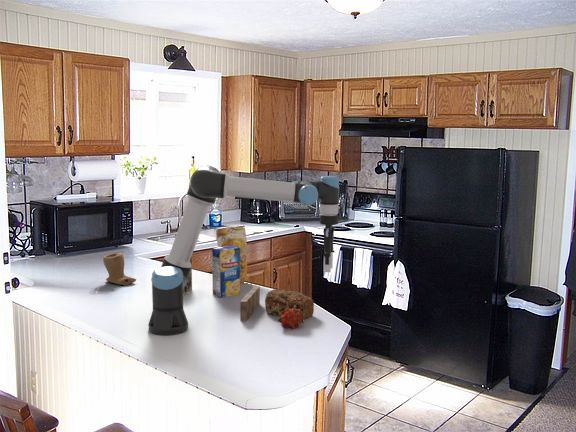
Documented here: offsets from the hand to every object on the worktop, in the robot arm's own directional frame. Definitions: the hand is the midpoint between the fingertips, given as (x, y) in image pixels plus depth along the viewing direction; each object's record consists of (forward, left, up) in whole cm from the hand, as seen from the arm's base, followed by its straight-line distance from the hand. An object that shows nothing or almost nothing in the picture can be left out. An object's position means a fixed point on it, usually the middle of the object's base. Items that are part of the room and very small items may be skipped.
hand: (328, 270), depth 254 cm
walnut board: (0, +33, -20) cm, 38 cm away
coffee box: (+24, +72, -20) cm, 78 cm away
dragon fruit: (-16, +12, -20) cm, 29 cm away
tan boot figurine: (+33, +109, -20) cm, 115 cm away
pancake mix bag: (+47, +54, -20) cm, 74 cm away
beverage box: (+25, +51, -20) cm, 60 cm away
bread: (0, +16, -20) cm, 26 cm away
